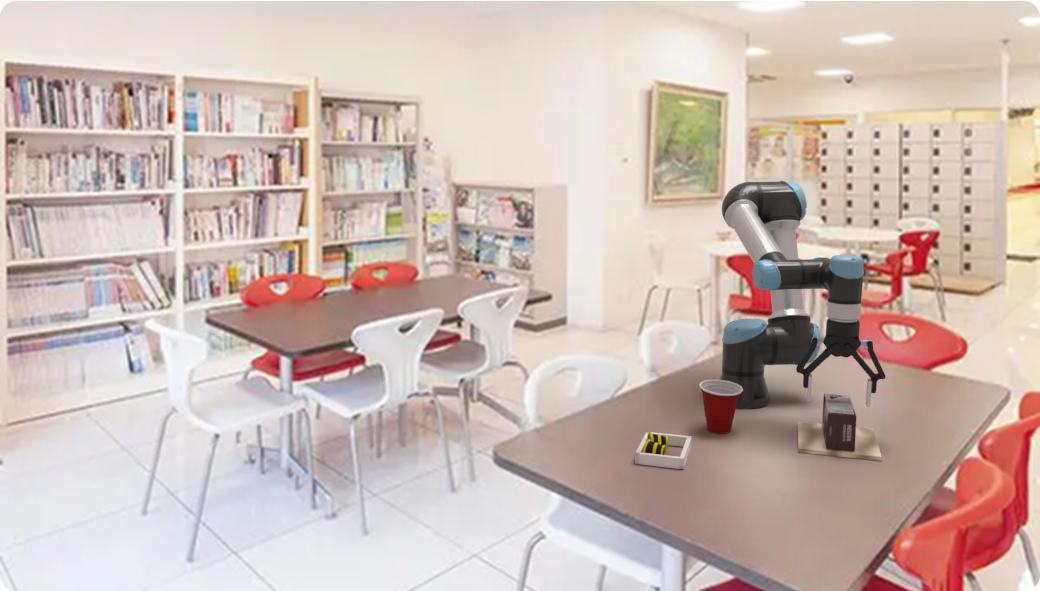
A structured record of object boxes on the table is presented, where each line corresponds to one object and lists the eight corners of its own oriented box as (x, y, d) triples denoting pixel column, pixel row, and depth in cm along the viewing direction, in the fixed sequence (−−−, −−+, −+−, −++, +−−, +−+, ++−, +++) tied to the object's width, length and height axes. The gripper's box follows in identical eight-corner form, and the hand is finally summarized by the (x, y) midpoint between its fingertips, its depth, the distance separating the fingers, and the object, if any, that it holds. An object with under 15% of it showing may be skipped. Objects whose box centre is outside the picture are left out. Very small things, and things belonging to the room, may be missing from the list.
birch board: (798, 452, 182) (798, 448, 182) (797, 425, 201) (797, 421, 201) (881, 461, 177) (881, 456, 176) (872, 432, 195) (873, 428, 195)
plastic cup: (717, 440, 191) (719, 393, 188) (689, 427, 200) (690, 383, 198) (750, 433, 196) (752, 387, 193) (721, 420, 205) (722, 377, 203)
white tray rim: (635, 463, 177) (635, 453, 176) (646, 441, 191) (646, 431, 190) (683, 469, 173) (683, 458, 173) (691, 446, 187) (691, 436, 187)
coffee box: (848, 429, 194) (854, 453, 179) (821, 426, 196) (825, 450, 181) (850, 394, 193) (857, 415, 178) (823, 392, 195) (827, 413, 180)
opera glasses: (664, 465, 176) (665, 445, 175) (641, 463, 177) (642, 442, 176) (669, 450, 185) (669, 430, 184) (647, 448, 186) (647, 428, 185)
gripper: (897, 318, 187) (891, 402, 190) (789, 313, 195) (785, 394, 198) (902, 325, 180) (895, 412, 183) (789, 319, 188) (784, 402, 191)
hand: (838, 403), depth 191 cm, fingers open, 13 cm apart
